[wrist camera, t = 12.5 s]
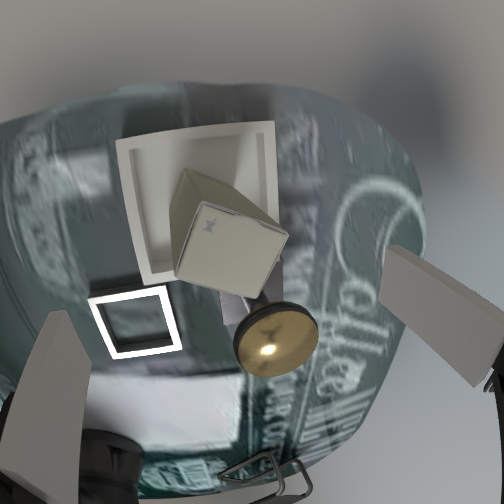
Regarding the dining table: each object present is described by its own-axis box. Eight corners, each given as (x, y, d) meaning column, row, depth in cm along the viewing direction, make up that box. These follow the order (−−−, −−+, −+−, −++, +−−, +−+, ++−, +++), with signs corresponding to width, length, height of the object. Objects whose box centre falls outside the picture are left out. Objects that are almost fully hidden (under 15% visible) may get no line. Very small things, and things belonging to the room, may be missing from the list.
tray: (146, 270, 27) (144, 285, 25) (121, 139, 22) (115, 140, 19) (270, 248, 30) (280, 261, 28) (263, 121, 25) (274, 120, 22)
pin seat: (114, 350, 30) (113, 359, 29) (90, 291, 27) (87, 299, 25) (181, 340, 32) (182, 349, 31) (165, 278, 28) (165, 285, 27)
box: (167, 211, 25) (165, 279, 14) (184, 165, 24) (196, 196, 13) (219, 229, 27) (257, 303, 16) (238, 186, 26) (293, 233, 15)
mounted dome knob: (221, 323, 32) (241, 386, 24) (212, 266, 29) (232, 324, 21) (282, 309, 34) (317, 365, 25) (281, 253, 31) (323, 303, 22)
